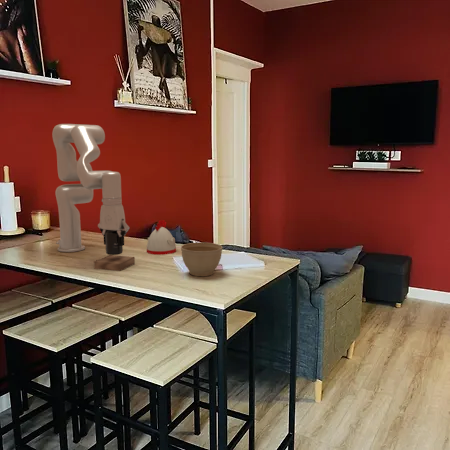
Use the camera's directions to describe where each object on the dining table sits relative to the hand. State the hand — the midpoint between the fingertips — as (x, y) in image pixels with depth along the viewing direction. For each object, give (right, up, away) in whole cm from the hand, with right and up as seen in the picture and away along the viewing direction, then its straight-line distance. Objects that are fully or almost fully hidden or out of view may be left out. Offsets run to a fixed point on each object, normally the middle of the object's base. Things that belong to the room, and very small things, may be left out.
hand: (114, 244), depth 192 cm
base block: (0, -9, +2) cm, 9 cm away
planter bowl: (+37, -11, -10) cm, 40 cm away
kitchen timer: (+16, -5, +29) cm, 33 cm away
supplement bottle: (0, -4, +1) cm, 4 cm away
